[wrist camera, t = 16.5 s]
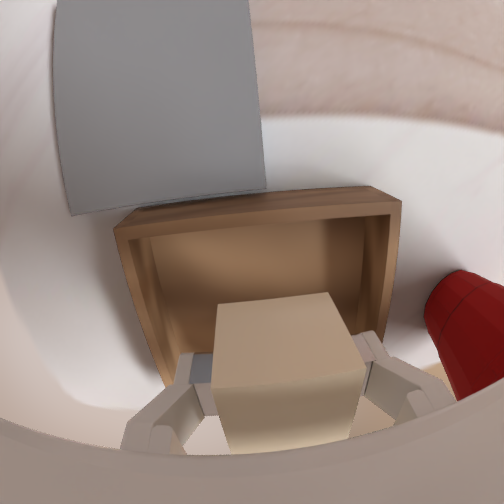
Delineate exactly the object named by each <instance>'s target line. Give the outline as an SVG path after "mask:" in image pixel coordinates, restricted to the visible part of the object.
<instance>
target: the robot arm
mask: <svg viewBox="0 0 504 504" xmlns="http://www.w3.org/2000/svg"><path fill="white" fill-rule="evenodd" d="M351 337H352V339H353V341H354V343H355V345H356V347H357V349H358V351H359V353H360V355H361V357H362V359H363V361H364V363H365V365H366V367H367V369H366V373H365V378H364V382H363V386H362V390H361V394H360V396H364V395H365V397H366V398H367V399H369V400H370V401H371V402H372V403H374V404H375V405H376V406H378V407H379V408H380V409H382V410H383V411H384V412H386V413H387V414H388V415H390V416H391V417H392V418H393V419H395V420H396V421H395V423H394V425H393V426H392V427H389V428H385V429H382V430H379V431H375V432H372V433H368V434H364V435H360V436H357V437H353V438H348V439H344V440H340V441H335V442H330V443H325V444H320V445H314V446H309V447H302V448H296V449H289V450H281V451H272V452H262V453H250V454H233V455H187V453H186V452H185V450H184V448H183V447H182V446H183V445H184V444H185V443H186V441H187V440H188V439H189V437H190V436H191V435H192V433H193V432H194V431H195V430H196V428H197V427H198V426H199V424H200V423H201V422H202V420H203V419H204V416H214V415H215V416H216V415H218V411H217V408H216V405H215V402H214V398H213V395H212V392H211V377H212V364H213V352H195V353H181V354H180V356H179V360H178V364H177V369H176V374H175V379H174V383H173V385H169V386H167V387H166V388H165V389H164V390H163V391H162V392H161V393H160V394H159V395H157V396H156V397H155V398H154V399H153V400H152V401H151V402H150V403H148V404H147V405H146V406H145V407H144V408H143V409H142V410H141V411H139V412H138V413H137V414H136V415H135V416H134V417H133V418H132V419H130V420H129V421H128V422H127V425H126V429H125V432H124V436H123V439H122V443H121V447H120V449H115V448H109V447H103V446H97V445H92V444H87V443H82V442H77V441H73V440H69V439H64V438H61V437H57V436H53V435H50V434H46V433H42V432H39V431H36V430H33V429H29V428H27V427H24V426H21V425H18V424H15V423H12V422H10V421H7V420H5V419H2V418H0V504H504V378H502V379H500V380H498V381H497V382H495V383H493V384H491V385H489V386H488V387H486V388H484V389H482V390H480V391H478V392H476V393H474V394H472V395H470V396H468V397H466V398H464V399H461V400H459V401H457V402H456V400H455V399H454V397H453V396H452V394H451V393H450V391H449V390H448V388H447V387H446V385H445V384H444V382H443V381H442V380H441V379H439V378H437V377H435V376H433V375H430V374H428V373H426V372H424V371H422V370H420V369H418V368H416V367H414V366H412V365H410V364H408V363H406V362H404V361H402V360H400V359H398V358H396V357H394V356H393V357H390V356H389V354H388V353H387V351H386V349H385V348H384V346H383V345H382V343H381V341H380V340H379V338H378V337H377V335H376V333H375V332H374V331H373V330H371V331H366V332H362V333H358V334H353V335H351Z"/></svg>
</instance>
